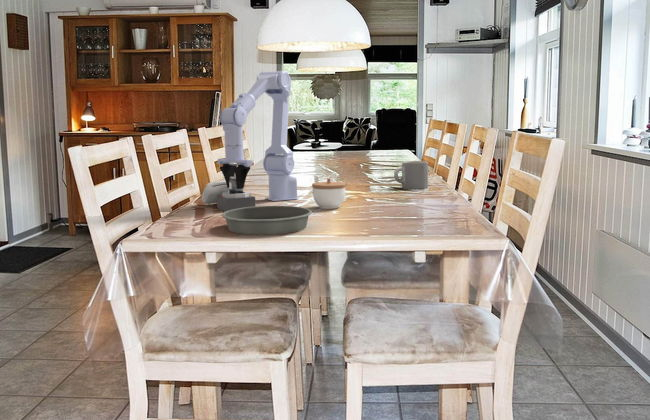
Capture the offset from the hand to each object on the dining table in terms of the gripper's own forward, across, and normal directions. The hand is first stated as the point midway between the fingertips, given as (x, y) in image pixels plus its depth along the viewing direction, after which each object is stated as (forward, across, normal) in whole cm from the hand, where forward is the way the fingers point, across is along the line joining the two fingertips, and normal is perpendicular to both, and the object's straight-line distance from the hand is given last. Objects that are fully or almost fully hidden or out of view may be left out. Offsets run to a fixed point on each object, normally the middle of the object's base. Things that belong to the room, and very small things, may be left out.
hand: (235, 188), depth 228 cm
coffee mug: (+7, +14, +77) cm, 78 cm away
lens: (+2, 0, 0) cm, 2 cm away
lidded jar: (+7, +22, +20) cm, 31 cm away
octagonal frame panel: (+7, 0, 0) cm, 7 cm away
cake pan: (+7, +33, -17) cm, 38 cm away
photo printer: (+5, -14, +4) cm, 16 cm away
